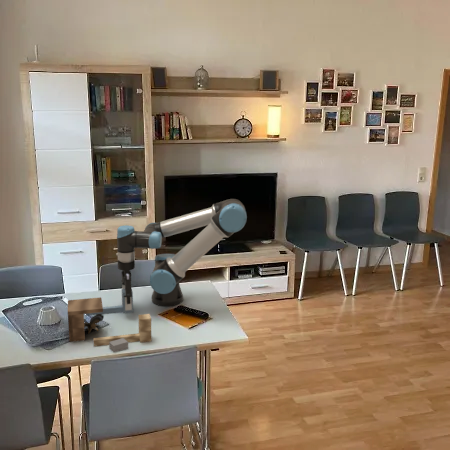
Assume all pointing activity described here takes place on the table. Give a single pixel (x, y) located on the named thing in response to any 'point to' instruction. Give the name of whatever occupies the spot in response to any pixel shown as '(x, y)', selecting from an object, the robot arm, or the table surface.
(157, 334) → the table surface
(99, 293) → the table surface
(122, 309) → the crook
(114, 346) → the grey eraser block
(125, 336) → the plain l-shaped wooden block
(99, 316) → the eagle figurine
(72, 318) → the wooden l bracket
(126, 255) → the robot arm
